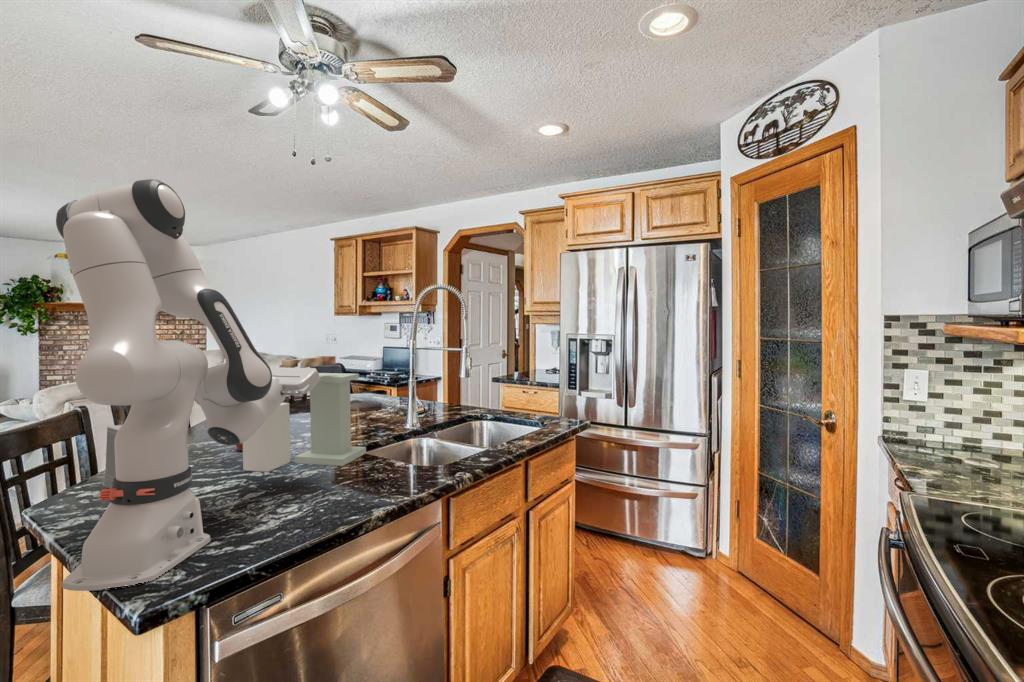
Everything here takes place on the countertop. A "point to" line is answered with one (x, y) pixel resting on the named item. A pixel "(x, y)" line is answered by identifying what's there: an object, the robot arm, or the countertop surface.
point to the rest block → (269, 443)
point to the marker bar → (311, 361)
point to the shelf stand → (331, 422)
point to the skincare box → (110, 455)
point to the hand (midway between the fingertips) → (296, 362)
